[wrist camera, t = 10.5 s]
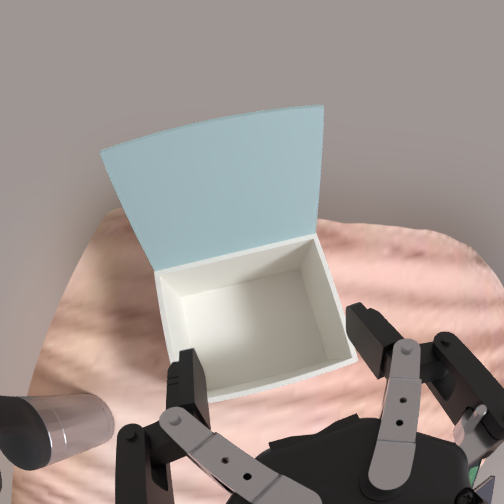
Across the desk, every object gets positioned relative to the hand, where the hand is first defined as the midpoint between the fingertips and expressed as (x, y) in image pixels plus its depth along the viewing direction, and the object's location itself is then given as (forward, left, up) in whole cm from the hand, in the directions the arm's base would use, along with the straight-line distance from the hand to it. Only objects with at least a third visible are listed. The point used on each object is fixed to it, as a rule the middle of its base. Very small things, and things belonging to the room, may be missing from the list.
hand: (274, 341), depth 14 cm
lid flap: (0, +15, -9) cm, 17 cm away
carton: (0, +4, -28) cm, 29 cm away
